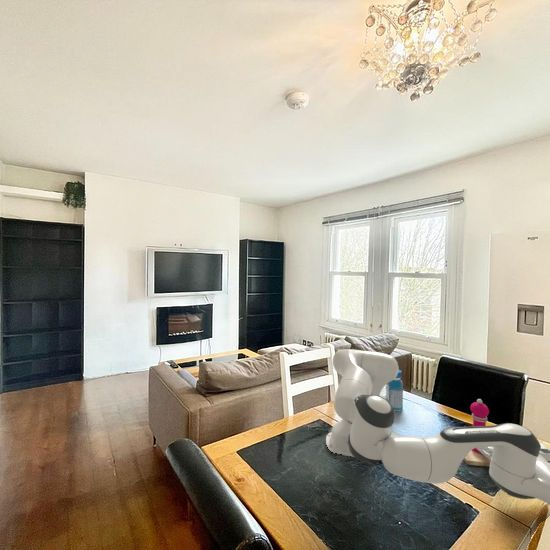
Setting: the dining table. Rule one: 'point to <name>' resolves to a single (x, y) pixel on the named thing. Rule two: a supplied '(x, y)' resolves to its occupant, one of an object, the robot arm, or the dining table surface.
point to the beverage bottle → (395, 392)
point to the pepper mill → (479, 416)
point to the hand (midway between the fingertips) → (498, 436)
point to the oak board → (476, 459)
